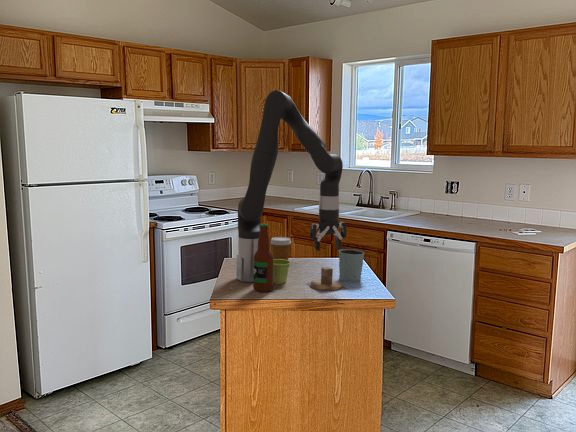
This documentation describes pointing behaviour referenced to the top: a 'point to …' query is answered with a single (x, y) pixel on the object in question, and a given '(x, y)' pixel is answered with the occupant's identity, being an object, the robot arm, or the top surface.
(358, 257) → the grey green tapered cylinder
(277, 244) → the disposable coffee cup
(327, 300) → the top surface
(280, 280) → the plant pot
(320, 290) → the mat
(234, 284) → the top surface
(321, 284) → the lid
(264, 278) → the bottle
